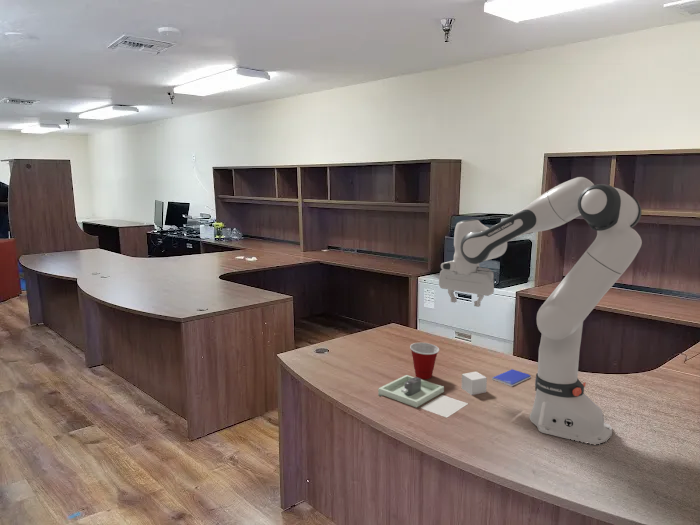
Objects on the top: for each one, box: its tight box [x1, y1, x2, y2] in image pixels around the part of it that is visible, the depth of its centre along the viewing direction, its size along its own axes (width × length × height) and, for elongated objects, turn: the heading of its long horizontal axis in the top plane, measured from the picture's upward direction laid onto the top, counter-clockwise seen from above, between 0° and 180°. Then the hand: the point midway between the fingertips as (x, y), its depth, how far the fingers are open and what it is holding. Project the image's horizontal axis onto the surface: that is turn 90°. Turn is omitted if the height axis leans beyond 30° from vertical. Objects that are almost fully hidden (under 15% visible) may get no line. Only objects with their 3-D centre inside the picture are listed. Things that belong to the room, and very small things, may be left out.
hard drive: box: [491, 368, 532, 387], centre depth 183 cm, size 2×8×12 cm
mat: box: [420, 394, 469, 418], centre depth 161 cm, size 10×13×1 cm
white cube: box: [461, 371, 488, 396], centre depth 172 cm, size 6×6×6 cm
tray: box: [377, 374, 445, 409], centre depth 171 cm, size 16×16×2 cm
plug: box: [401, 376, 421, 396], centre depth 171 cm, size 9×3×4 cm, turn 137°
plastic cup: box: [409, 342, 440, 380], centre depth 184 cm, size 11×11×12 cm
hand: (465, 304), depth 176 cm, fingers open, 8 cm apart
